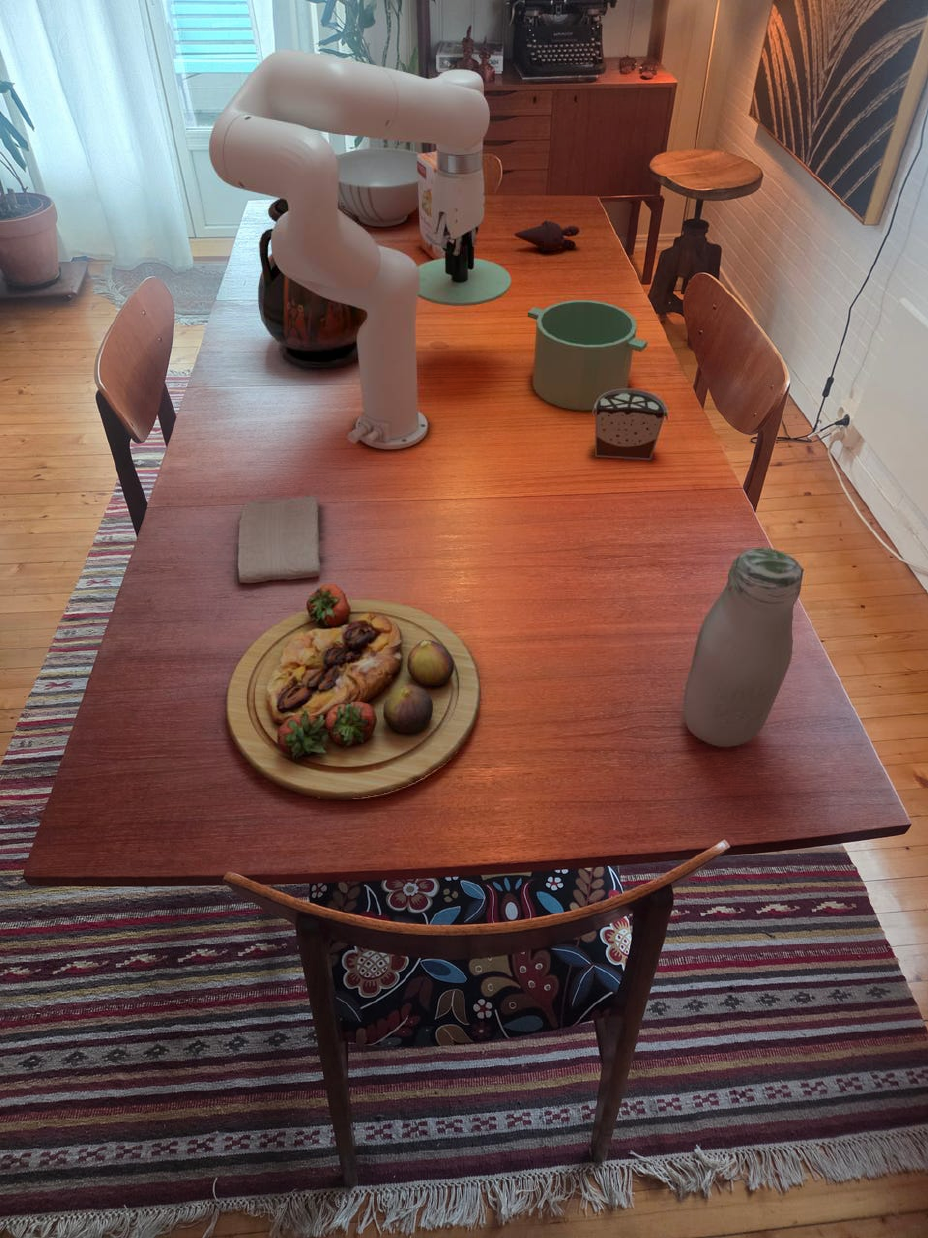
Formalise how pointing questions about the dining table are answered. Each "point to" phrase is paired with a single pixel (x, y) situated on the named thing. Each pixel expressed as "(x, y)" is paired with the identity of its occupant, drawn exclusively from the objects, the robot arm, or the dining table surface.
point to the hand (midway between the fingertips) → (459, 270)
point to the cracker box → (427, 203)
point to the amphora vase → (304, 314)
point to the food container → (628, 424)
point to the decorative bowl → (379, 184)
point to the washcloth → (279, 540)
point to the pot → (582, 352)
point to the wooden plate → (352, 697)
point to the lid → (463, 282)
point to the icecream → (549, 236)
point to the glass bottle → (743, 649)
